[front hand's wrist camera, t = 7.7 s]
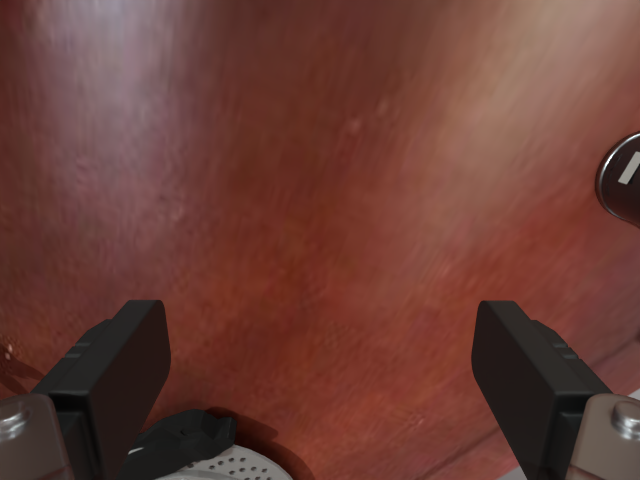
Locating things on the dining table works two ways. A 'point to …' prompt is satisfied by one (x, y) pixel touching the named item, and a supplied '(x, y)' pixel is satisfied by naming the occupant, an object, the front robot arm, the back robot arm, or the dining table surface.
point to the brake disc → (195, 452)
